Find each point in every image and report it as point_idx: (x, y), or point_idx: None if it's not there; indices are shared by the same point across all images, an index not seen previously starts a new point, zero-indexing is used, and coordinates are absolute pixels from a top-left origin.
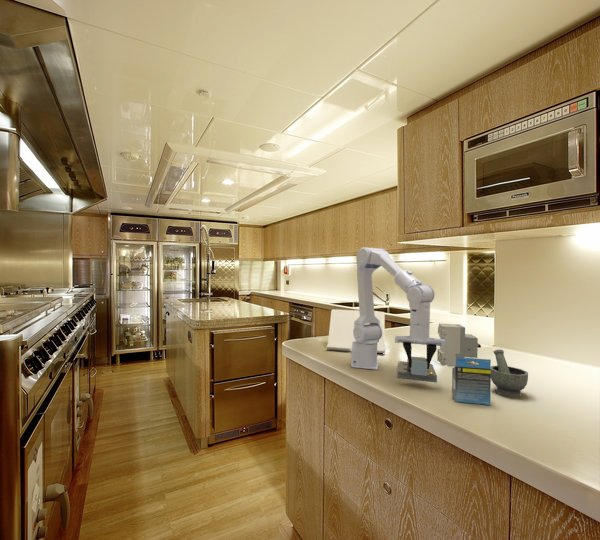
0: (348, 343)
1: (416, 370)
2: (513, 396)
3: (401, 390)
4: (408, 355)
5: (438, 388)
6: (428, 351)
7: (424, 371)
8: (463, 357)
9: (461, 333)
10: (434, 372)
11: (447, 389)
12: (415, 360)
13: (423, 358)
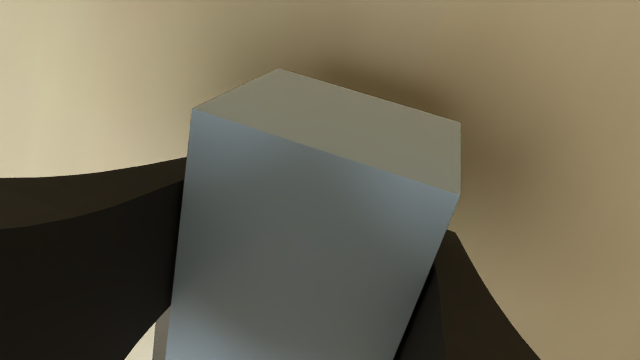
0: None
1: (394, 119)
2: None
3: (609, 4)
4: (501, 337)
5: (213, 91)
6: (8, 227)
7: (291, 88)
8: None
9: None
10: (163, 330)
11: (149, 72)
12: (370, 229)
13: (202, 329)
